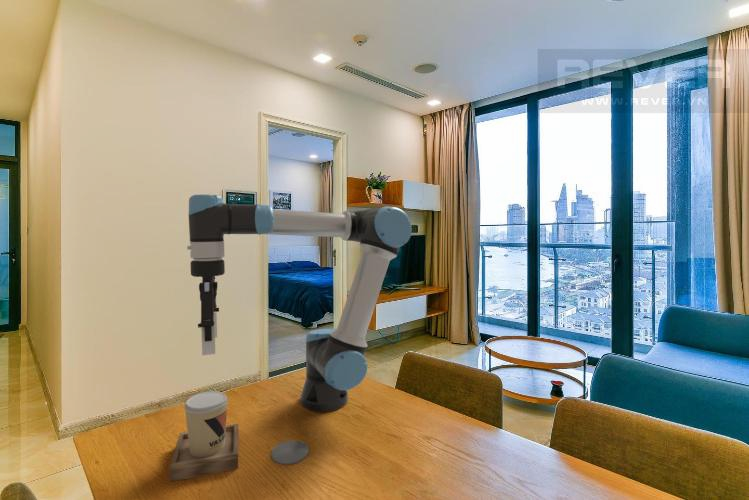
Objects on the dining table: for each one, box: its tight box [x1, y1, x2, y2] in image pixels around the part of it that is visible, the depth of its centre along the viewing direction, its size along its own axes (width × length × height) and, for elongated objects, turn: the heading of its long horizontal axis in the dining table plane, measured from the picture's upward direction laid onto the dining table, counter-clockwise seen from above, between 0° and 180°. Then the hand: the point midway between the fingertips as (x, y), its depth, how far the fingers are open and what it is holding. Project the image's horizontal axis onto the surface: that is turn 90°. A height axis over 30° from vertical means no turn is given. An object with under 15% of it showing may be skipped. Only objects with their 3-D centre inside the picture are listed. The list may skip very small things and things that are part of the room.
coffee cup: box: [184, 390, 229, 457], centre depth 89 cm, size 9×9×12 cm
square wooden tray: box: [168, 423, 240, 483], centre depth 89 cm, size 14×14×4 cm
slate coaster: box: [270, 440, 309, 466], centre depth 91 cm, size 9×9×1 cm
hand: (210, 345), depth 90 cm, fingers open, 13 cm apart
